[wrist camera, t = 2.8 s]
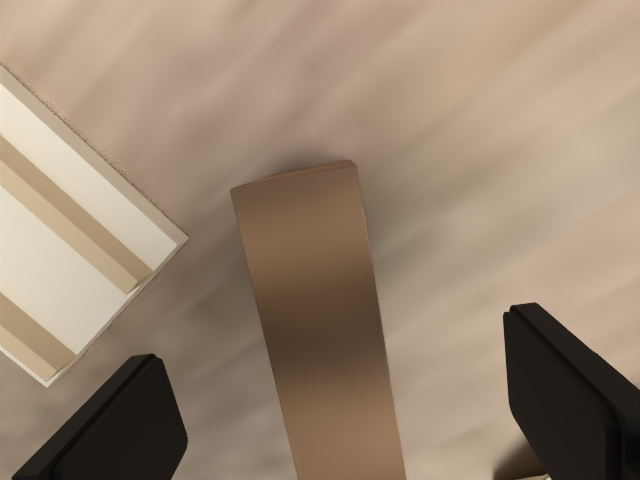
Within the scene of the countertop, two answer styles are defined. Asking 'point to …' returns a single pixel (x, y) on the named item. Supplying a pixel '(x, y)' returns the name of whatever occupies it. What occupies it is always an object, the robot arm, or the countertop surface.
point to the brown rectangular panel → (322, 321)
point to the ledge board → (66, 238)
